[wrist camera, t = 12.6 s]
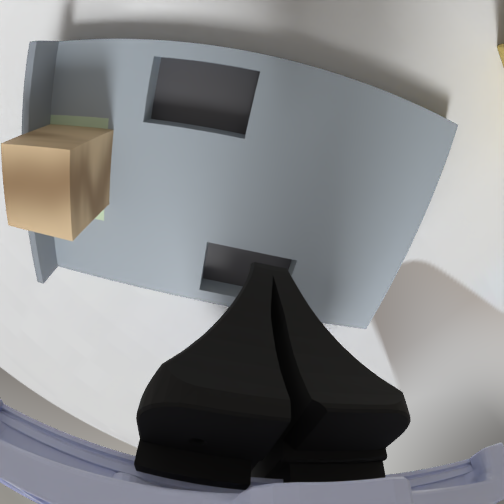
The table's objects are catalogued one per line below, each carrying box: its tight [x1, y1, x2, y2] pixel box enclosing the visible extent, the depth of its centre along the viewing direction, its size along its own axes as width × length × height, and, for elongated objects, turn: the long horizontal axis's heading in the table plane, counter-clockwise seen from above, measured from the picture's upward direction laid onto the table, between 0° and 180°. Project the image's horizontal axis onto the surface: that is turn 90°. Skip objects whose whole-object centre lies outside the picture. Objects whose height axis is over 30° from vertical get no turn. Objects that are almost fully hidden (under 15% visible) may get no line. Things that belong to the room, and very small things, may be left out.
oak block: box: [1, 124, 114, 241], centre depth 16 cm, size 5×5×5 cm
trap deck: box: [22, 39, 458, 329], centre depth 18 cm, size 17×26×4 cm, turn 78°
